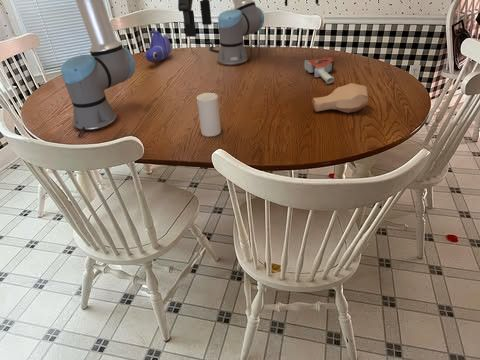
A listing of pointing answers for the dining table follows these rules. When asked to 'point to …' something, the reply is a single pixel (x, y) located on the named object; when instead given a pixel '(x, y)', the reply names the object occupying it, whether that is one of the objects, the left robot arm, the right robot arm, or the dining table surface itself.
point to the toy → (158, 48)
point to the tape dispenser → (321, 68)
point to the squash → (343, 99)
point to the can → (209, 114)
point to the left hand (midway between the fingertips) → (199, 30)
